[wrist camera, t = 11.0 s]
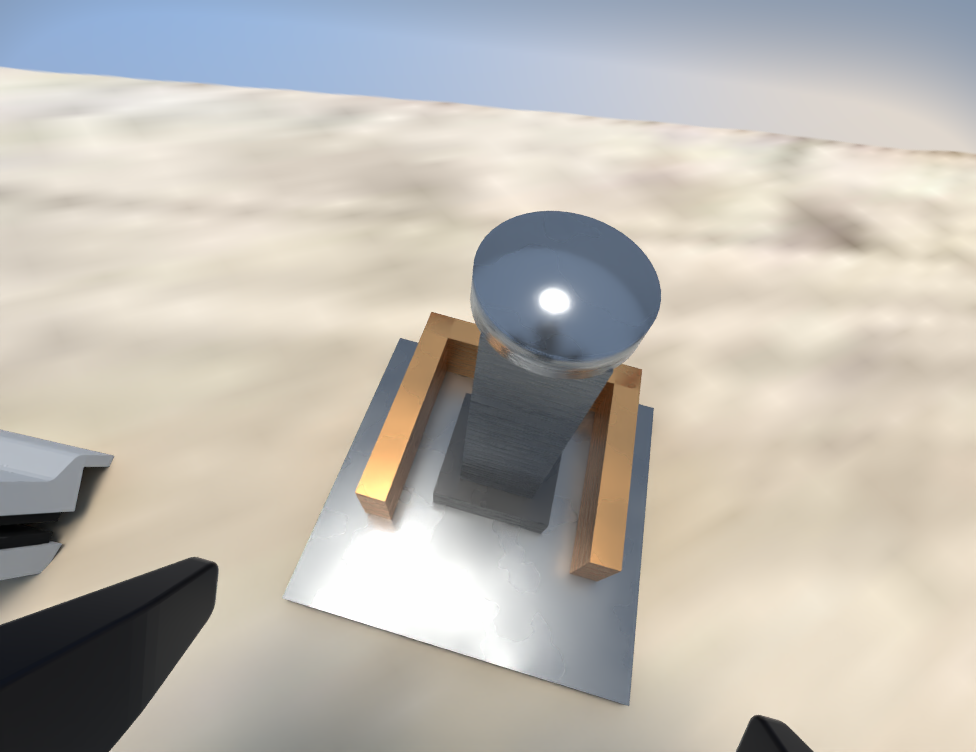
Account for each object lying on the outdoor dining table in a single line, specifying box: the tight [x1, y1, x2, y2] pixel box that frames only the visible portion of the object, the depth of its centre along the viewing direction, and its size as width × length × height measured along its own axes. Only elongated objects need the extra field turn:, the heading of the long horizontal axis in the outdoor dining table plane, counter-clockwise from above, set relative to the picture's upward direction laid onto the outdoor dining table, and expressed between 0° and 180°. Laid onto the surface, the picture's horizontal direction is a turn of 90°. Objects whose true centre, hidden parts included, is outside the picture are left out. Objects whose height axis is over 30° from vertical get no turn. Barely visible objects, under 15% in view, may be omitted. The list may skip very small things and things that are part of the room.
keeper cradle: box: [282, 312, 654, 706], centre depth 20 cm, size 13×14×4 cm
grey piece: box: [433, 211, 661, 534], centre depth 16 cm, size 5×5×13 cm
